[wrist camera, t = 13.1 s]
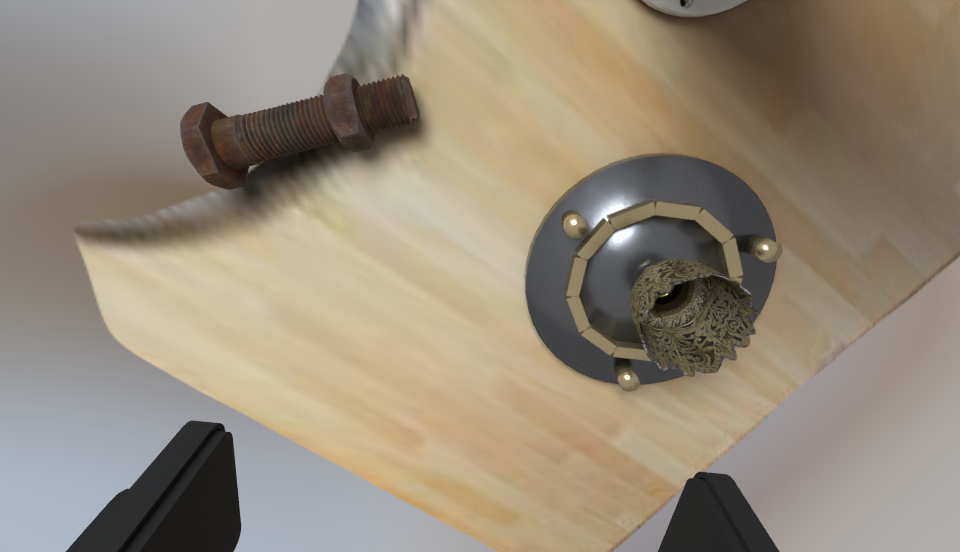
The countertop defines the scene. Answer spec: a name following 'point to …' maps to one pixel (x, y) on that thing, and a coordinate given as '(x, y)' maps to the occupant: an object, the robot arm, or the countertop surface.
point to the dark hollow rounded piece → (690, 315)
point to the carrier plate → (638, 255)
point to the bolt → (294, 127)
